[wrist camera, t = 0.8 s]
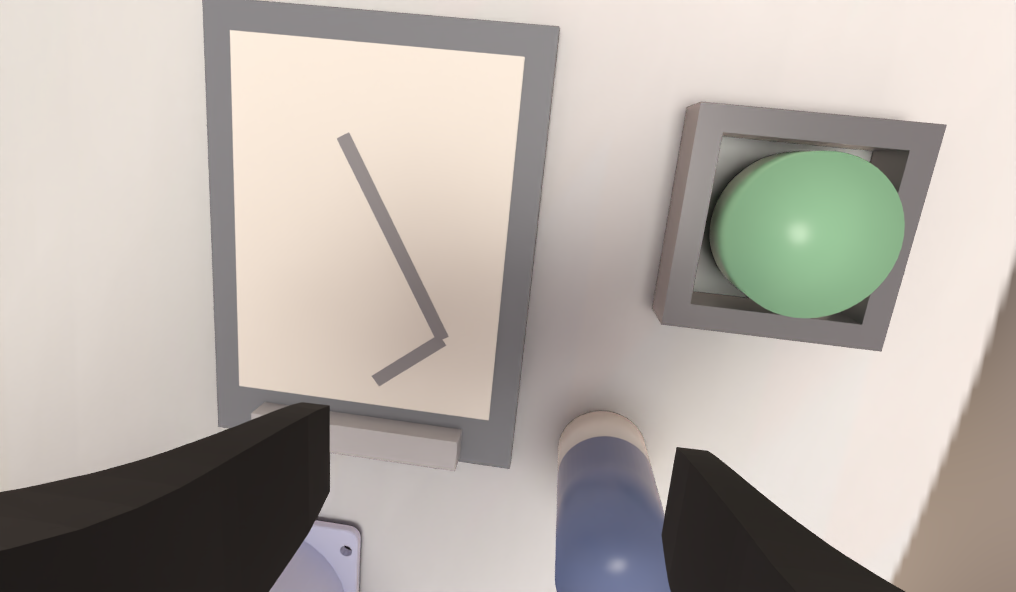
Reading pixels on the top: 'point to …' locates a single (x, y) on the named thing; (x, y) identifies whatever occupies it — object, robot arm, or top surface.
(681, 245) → the button housing
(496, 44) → the clipboard
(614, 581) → the marker
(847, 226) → the button
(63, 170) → the top surface
